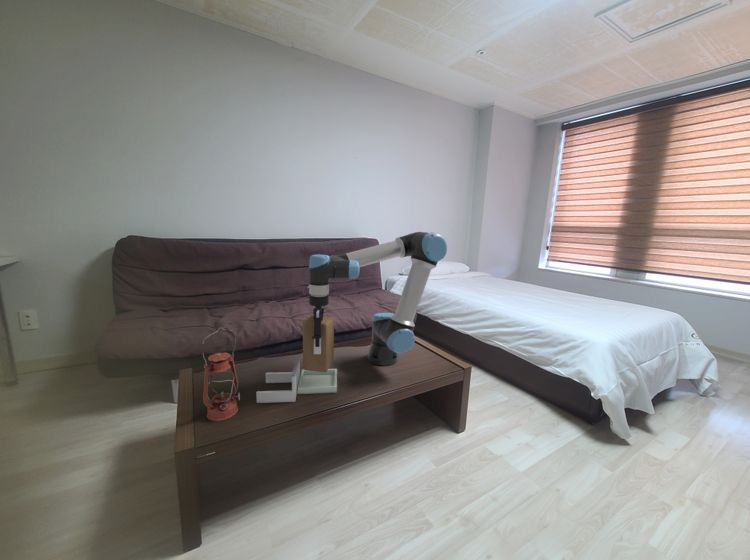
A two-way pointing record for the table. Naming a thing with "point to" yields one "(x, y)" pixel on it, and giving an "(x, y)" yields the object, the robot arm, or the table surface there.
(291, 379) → the dock
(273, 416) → the table surface
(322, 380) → the tray
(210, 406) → the lantern
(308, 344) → the wooden block
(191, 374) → the table surface
